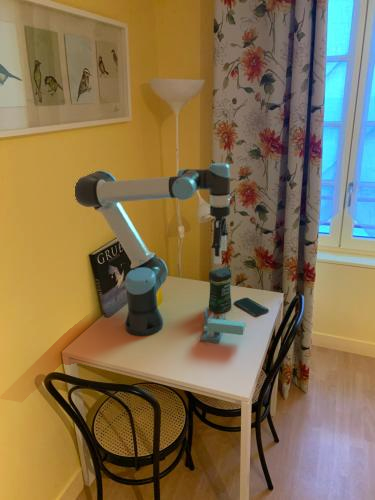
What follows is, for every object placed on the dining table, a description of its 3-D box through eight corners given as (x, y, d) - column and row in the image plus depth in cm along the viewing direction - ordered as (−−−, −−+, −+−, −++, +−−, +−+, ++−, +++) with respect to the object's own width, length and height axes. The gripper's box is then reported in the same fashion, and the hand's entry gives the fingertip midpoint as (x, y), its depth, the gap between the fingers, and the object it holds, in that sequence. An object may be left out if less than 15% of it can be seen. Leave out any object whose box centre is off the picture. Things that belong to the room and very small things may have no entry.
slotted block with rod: (197, 341, 152) (197, 325, 149) (207, 319, 166) (207, 304, 164) (218, 343, 150) (218, 327, 147) (226, 321, 164) (226, 306, 162)
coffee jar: (217, 316, 169) (217, 275, 162) (206, 309, 175) (204, 269, 168) (235, 308, 174) (235, 269, 167) (223, 302, 180) (222, 263, 173)
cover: (203, 330, 149) (203, 322, 148) (208, 320, 155) (207, 312, 154) (242, 335, 145) (243, 326, 144) (245, 325, 151) (245, 316, 150)
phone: (246, 297, 182) (269, 309, 170) (246, 299, 182) (269, 312, 171) (232, 302, 178) (255, 315, 166) (232, 304, 179) (255, 317, 167)
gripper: (224, 214, 141) (225, 269, 148) (233, 197, 163) (233, 246, 171) (203, 213, 142) (205, 268, 150) (215, 197, 165) (216, 245, 172)
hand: (220, 256), depth 160 cm, fingers open, 13 cm apart
